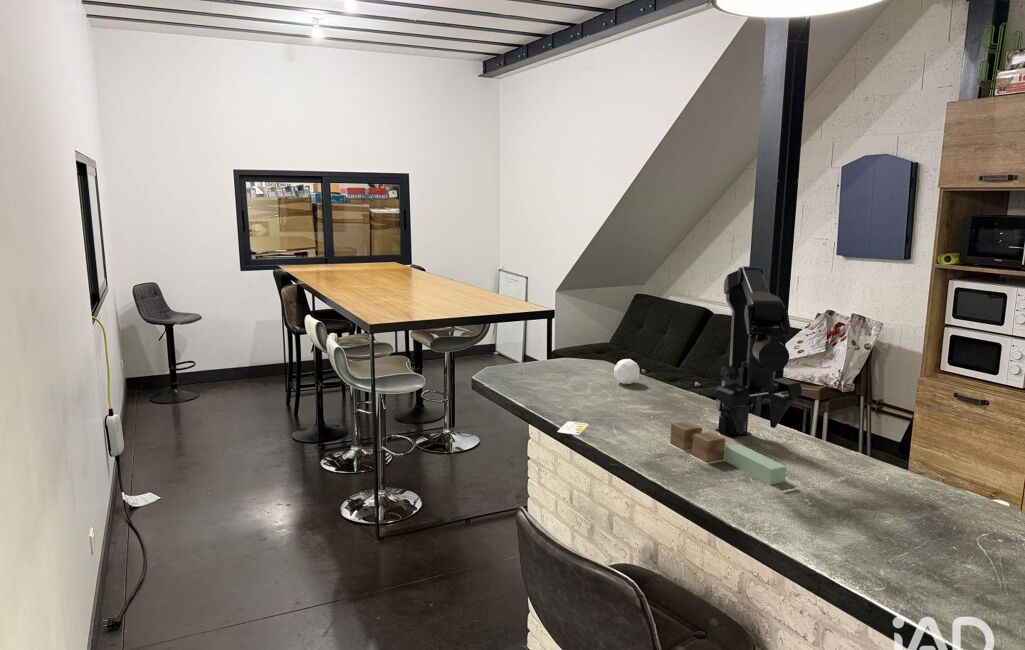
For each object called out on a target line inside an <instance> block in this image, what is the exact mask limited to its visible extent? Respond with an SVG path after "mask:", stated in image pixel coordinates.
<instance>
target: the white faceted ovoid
mask: <svg viewBox="0 0 1025 650" xmlns="http://www.w3.org/2000/svg"><path fill="white" fill-rule="evenodd" d="M613 370H614V372H613V374H614V377H615V379H616V380H617V381H618V382H619V383H621V384H622V385H632V384H634V383H635V382H637V380H638V378H639V377H640V366H639V364H638V363H637V362H635V361H634V360H632V359H631V358H624V359H621V360H619V361H618V362H617V363H616V364H615V366H614V369H613Z"/></svg>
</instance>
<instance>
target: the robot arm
mask: <svg viewBox="0 0 1025 650" xmlns="http://www.w3.org/2000/svg"><path fill="white" fill-rule="evenodd" d="M765 280H766V279H765V276H764V272H763V268H762V267H760V266H752V265H751V266H748V265H747V266H745V265H743V266H740V267H738V268H737V270H735V271H732V272H730V273H728V274H727V275H726V277H725V279H724V283H723V294H724V295H725V301H726V303H727V305H728V307H729V308H730V310H731V324H730V325H731V326H730V327H731V328H730V348H729V349H730V350H729V365H725V366H721V367H720V375H719V376H720V380H721V386H718V387H717V388H716V390H715V406H716V409H717V411H718V412H719V414H720V415H718V416H719V417H718V427H717V428H715V429H714V431H715V432H718V433H720V434H722V435H724V436H726V437H728V438H731V439H736V438H741V437H749V436H752V435H753V434H752V433H751V432H750V431H748V425H749V423H748V422H749V414H750V413H751V414H755V412H756V406H757V401H758V398H759V397H760V396H761V397H762V396H767V398H768V399H769V401H770V410H769V425H770V428H772V429H775V428H777V425H778V424H779V422H780V421H781V420H782V419H783V417H784V416H785V415H786V414H785V413H786V412H787V411H788V409H790V407H791V406H792V405H793V403H794V402H796V401H797V399H798V397H799V398H800V397H802V393H803V392H802V390H803V388H802V386H801V384H800V382H798V381H795V380H792V379H788V378H786V377H781V378H776V372H779V371H781V370H782V369H784V368H785V367H786V366H787V365H788V363H789V361H790V352H789V350H788V348H787V347H786V346H785V345H784V344H783V343H782V342H781V337H789V332H790V330H791V323H790V317H789V316H790V315H789V311H788V310H787V306H786V305H784V303H783V301H782V300H781V298H780V297H779V296H778V295H775V294H773V293H770V290H769V287H768V285H767V283H766V281H765Z"/></svg>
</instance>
